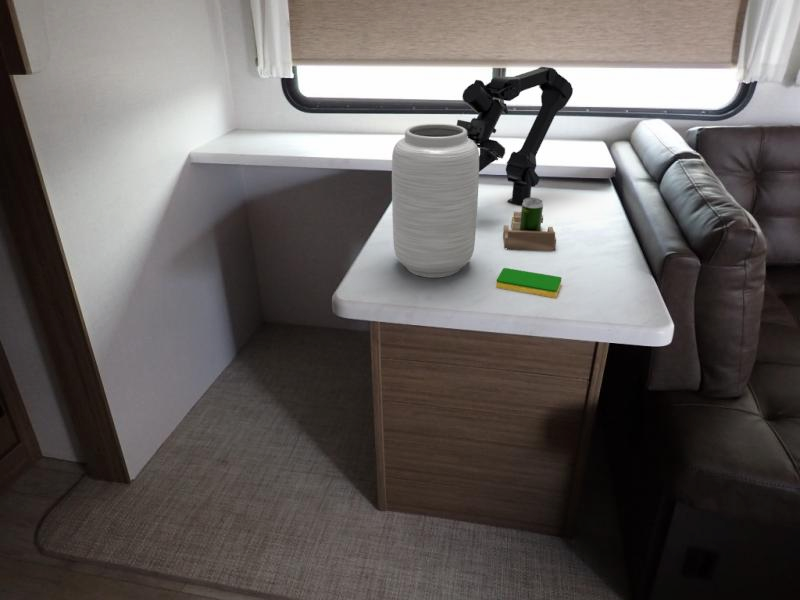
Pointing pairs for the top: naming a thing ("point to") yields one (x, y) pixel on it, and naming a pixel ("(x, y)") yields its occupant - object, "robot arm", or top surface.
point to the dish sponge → (529, 282)
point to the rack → (529, 239)
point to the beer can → (531, 214)
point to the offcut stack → (518, 221)
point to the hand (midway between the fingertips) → (461, 171)
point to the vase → (434, 199)
